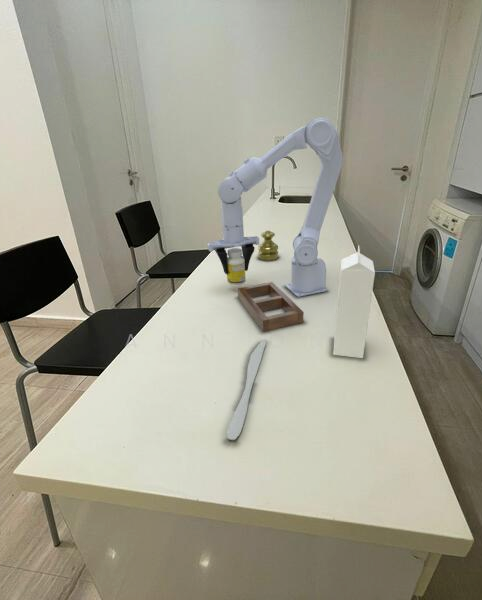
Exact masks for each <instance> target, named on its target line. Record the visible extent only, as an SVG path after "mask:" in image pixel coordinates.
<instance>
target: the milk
mask: <svg viewBox="0 0 482 600" xmlns="http://www.w3.org/2000/svg"><path fill="white" fill-rule="evenodd" d="M360 251H361V250H360V245H359V244H358V247H357V252H355V253H353V254H350V255H348V256H346V257H344V258H342V259H341V260H340V269H339V270H340V271H339V281H338V292H337V303H336V315H335V326H334V338H333V353H332V355H333V356H341V357H347V358H348V357H349V358H358V359H363V358H364V353H365V347H366V339H367V334H368V333H367V332H368V325H369V319H370V313H371V311H370V310H371V304H372V297H373V292H374V291H373V290H374V284H375V283H374V282H375V275H376V270H375V266H374V265H375V264H374V261H373V260H372V259H370V258H369V257H367V256H365V255H364V254H362V253H361V252H360Z"/></svg>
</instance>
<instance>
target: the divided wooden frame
mask: <svg viewBox="0 0 482 600" xmlns="http://www.w3.org/2000/svg"><path fill="white" fill-rule="evenodd" d="M266 295H270V297H266V298H261V299H255V300H254V299H253V298H257V297H262V296H266ZM237 298H238V299H239V301H240V302H241V303H242V305H243V307H244V308H245V309H246V310H247V312H248V313H249V314H250V316H251V317H252V319H253V320H254V321H255V323H256V324H257V325H258V327H259V328H260V330H261V331H262V332H267V331H268V332H269V331H273V330H277V329H281V328H282V329H283V328H285V327H290V326H294V325H299V324H303V323H304V311H303V310H302V309H301V308H300V307H299V306H298V305H297V304H296V303H295V302H294V301H293V300H292V299H291V298H289V296H287V294H286V293H284V292H283V291H282V289H280V288H279V287H278V286H277V285H276V284H275V283H274V281H270V282H264V283H259V284H253V285H249V286H243V287H238V288H237ZM279 309H283V310H284V311H285V312H282V313H277V314H273V315H268V316H267V315H266V314H265V312H268V311H269V312H270V311H273V310H279Z"/></svg>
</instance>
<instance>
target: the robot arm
mask: <svg viewBox="0 0 482 600" xmlns="http://www.w3.org/2000/svg"><path fill="white" fill-rule="evenodd" d="M308 146H309V147H310V148H311V149H313V151H314V152H315V154H316V156H317V158H318V159H319V161H320V163H321V166H320V168H319V169H320V170H319V173H318V176H317V179H316V182H315V185H314V189H313V192H312V195H311V198H310V201H309V205H308V208H307V211H306V213H305V218H304V221H303V224H302V225H301V227H300V230H299V233H298V234H297V236H296V237H295V238H294V239H293V241H292V248H293V257H291V274H290V275H291V277H290V279H291V280H290V281H291V282H290V283H289V284H286V285H285V288H287V289H288V290H289V291H290V292H291V293H292V294H294V295H295V296H296V297H298V298H299V297H305V296H309V295H315V294H320V293H323V292H327V288H326V281H327V280H326V279H327V266H326V262H325V261H324V259H322V258H321V257H318V256H319V251H318V246H319V245H318V244H319V242H320V234H321V233H320V232H321V229H322V226H323V224H324V221H325V217H326V214H327V212H328V209H329V206H330V203H331V200H332V196H333V194H334V191H335V187H336V186H337V182H338V179H339V176H340V172H341V170H342V167H343V164H344V156H343V152H342V148H341V142H340V137H339V132H338V130H337V129H336V127H335V126H334V125H333V122H332V121H331V120H330V119H327V118H325V117H319V118H316V119H313V120H311V121H309V122H308V124H307V125H306V124H305V125H303V126H301V127H299V128H298V129H296V130H294V131H292V132H291V133H290V134H288V135H287V136H285V138H284V139H282V140H281V141H280V142H278V143H277V144H276V145H275V146H273V148H271V149H270V150H269V151H268V152H266V153H265V154H264V155H263V156H262V157H260V158H259V157H255V156H253V157H250V159H249V157H247V158H246V159H245V160H243V163H244V164H242V165H241V166H239V168H237V169H236V170H234V171H230V172H229V173H228V175H229V176H228V177H226V178H225V179H222V181H221V182H220V183H219V185H218V188H217V193H218V197H219V199H220V214H221V215H220V216H221V228H222V239H219V240H216V241H211V242H207V250H208V251H209V252H214V251H215V253H216V255H217V257H218V259H219V260H220V263H221V266H222V270H223V273H224V274H225V275H227V274H228V266H227V257H228V252H227V251H226V249H232V248H239V247H241V250H242V256H243V257H244V259H245V272H248V271H249V265H250V260H251V258H252V256H253V254H254V252H255V248H256V247H255V246H259V245H260V237H259V236H245V233H244V231H245V229H244V215H243V206H242V197H241V196H242V194H243V193H247V192H248V191H250V190H251V189H253V188H254V187H256V186H257V185H258V184H259V183H261V182H262V181H263V180H265V179H266V178H267V175H268V169H270V168H272V167H273V166H274V165H276V164H277V163H278V162H280V161H281V160H282V159H284V158H286V157H287V156H288V155H290V154H291V153H292V152H294V151H298V150H305V149H308ZM254 245H255V246H254Z"/></svg>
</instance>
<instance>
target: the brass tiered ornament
mask: <svg viewBox="0 0 482 600" xmlns="http://www.w3.org/2000/svg"><path fill="white" fill-rule="evenodd" d="M260 236H261V237H262V238H263V239H264V240H263V241H262V242H261V243H259V245H257V246H258V247H257V249H258V252H257V253H258V254H257V255H258V259H259V260H261V261H265V262H270V261H275V260H277V259H278V258H279V251H278V250H279V246H278V244H277V243H275V242H274V240H272V239H273V238H274V237H275V236H276V234H275V232H273V231H271V230H265V231H263V232H261V234H260Z"/></svg>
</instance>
